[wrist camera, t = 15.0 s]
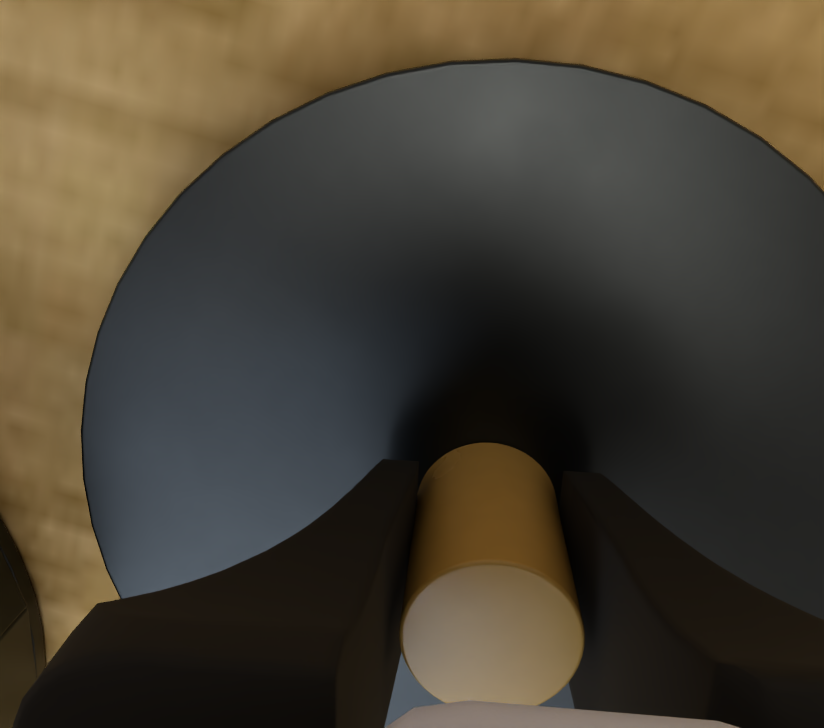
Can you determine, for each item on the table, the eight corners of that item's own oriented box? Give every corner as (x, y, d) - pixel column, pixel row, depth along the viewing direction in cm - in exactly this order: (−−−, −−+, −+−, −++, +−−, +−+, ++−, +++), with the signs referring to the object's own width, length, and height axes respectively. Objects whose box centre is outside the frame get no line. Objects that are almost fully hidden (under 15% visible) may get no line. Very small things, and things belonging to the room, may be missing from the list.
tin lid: (-26, 505, 15) (-227, 666, 11) (435, -154, 11) (413, -324, 7) (516, 878, 18) (531, 1141, 13) (1073, 442, 13) (1373, 609, 9)
